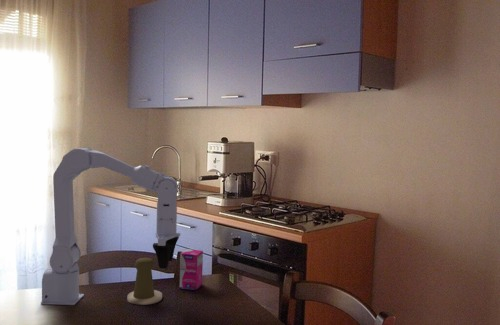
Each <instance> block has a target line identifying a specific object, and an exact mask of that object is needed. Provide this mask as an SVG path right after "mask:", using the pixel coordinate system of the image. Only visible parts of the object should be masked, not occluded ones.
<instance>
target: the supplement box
mask: <svg viewBox="0 0 500 325" xmlns="http://www.w3.org/2000/svg"><path fill="white" fill-rule="evenodd" d="M179 258H180V259H179V260H180V261H179V289H181V290H190V291H191V290H192V291H197V290H198V289H199V288H201V286H202V285H203V269H204V268H203V263H204V262H203V261H204V251H203V250H199V249H190V248H189V249H188V248H186V249H184V250H183V251H182V252H181V253H180V255H179Z"/></svg>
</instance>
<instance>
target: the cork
mask: <svg viewBox="0 0 500 325" xmlns="http://www.w3.org/2000/svg"><path fill="white" fill-rule="evenodd" d="M134 263H135V264H134V267H135V270H136V275H135V283H134V288H133V291H134V295H133V296H134V298H137V299H148V298H152V297H153V296H154V290H155V289H154V280H153V272H152V269H153V268H154V264H155V263H154V260H153V258H150V257H140V258H138V259H136V261H135V262H134Z"/></svg>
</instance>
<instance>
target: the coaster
mask: <svg viewBox="0 0 500 325" xmlns="http://www.w3.org/2000/svg"><path fill="white" fill-rule="evenodd" d="M133 295H134V290H133V291H131V292H128V294H127V296H126V297H127V298H126V299H127V300H126V301H127V302H128V303H130V304H133V305H140V306H141V305H142V306H145V305H146V306H147V305H152V304H156V303H159V302H160V301H162V299H163V292H161V291H159V290H156V289H154V296H153V297H152V298H148V299H137V298H134V296H133Z"/></svg>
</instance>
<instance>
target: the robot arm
mask: <svg viewBox="0 0 500 325" xmlns="http://www.w3.org/2000/svg"><path fill="white" fill-rule="evenodd" d="M61 159H62V160H61V161H60V163H59V165H58V166H57V168H56V170H55V171H54V172H53V175H52V176H53V177H52V183H53V204H54V205H53V208H54V209H53V211H54V226H55V227H54V232H55V234H54V235H55V237H54V238H55V239H54V241H53V244H52V253H51V256H50V257H49V265H50V268H47V269H46V270H45V271H44V272H43V274H42V277H41V278H42V279H41V301H40V304H41V305H59V306H74V305H76V304H77V303H78V302H79V301H80V300H81V299H82V298H84V295H85V294H84V293H80V266H79V265H78V263H77V262H78V261H79V260H80V258H81V257H82V256H81V255H82V251H81V248H80V247H79V244H78V238H77V236H76V233H75V232H76V231H75V210H74V208H75V206H74V180H75V179H77V177H78V176H79V175H81V173H83V172H85V171H87V170H89V169H98V168H99V169H100V168H105V169H107V170H110V171H113V172H115V173H118V174H121V175H123V176H126V177H128V178H130V179H131V182H132V184H133V185H136V186H138V187H140V188H143V189H145V190H147V191H150V192H152V193H154V192H156V193H157V202H156V230H155V231H156V232H155V237H156V239H157V242H154V243H152V249H153V250H154V251H155V252H154V253H155V254H156V258H157V263H158V267H159V269H168V266H169V262H172V261H173V258H174V252H175V249H176V246H177V243H178V241H179V238H180V236H181V233H180V232H177V225H178V224H177V223H178V221H177V218H178V217H177V216H178V214H177V213H178V212H177V211H178V203H177V201H178V200H177V198H178V196H177V192H178V182H177V180H176V179H175V178H173V177H172V176H171V175H166V173H164V172H161V173H160V172H158V171H156V170H153V169H151V166H149V165H147V164H144V165H145V166H144V165H138V166H134V165H131V164H129V163H126V161H125V162H124V161H123V160H121V159H118V158H116V157H113V156H112V155H109V154H107V153H106V152H105V153H104V152H102V151H100V150H96V149H94V150H93V149H92V148H90V147H86V146H85V147H79V148H77V147H76V148H73V149H71V150H69V151H68V152H67V153H65V154H64V155H63V157H62V158H61Z"/></svg>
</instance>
